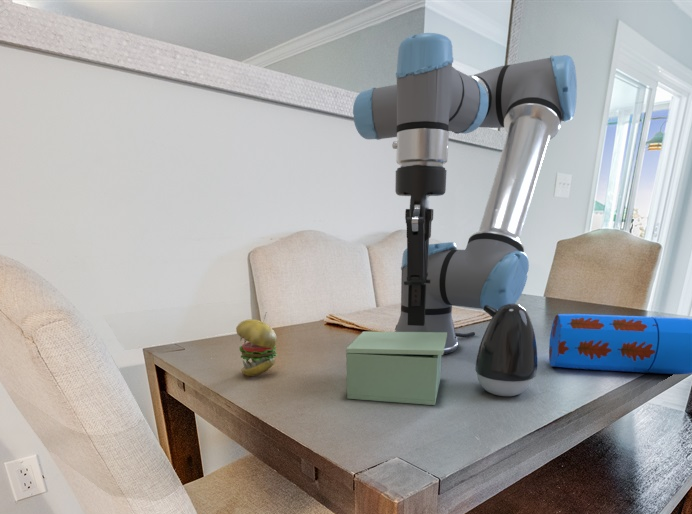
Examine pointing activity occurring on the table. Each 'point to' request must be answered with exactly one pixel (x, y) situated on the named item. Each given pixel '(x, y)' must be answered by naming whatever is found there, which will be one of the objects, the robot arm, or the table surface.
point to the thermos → (621, 343)
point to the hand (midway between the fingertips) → (416, 324)
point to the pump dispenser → (507, 352)
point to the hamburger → (257, 346)
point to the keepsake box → (393, 377)
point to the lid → (399, 343)
